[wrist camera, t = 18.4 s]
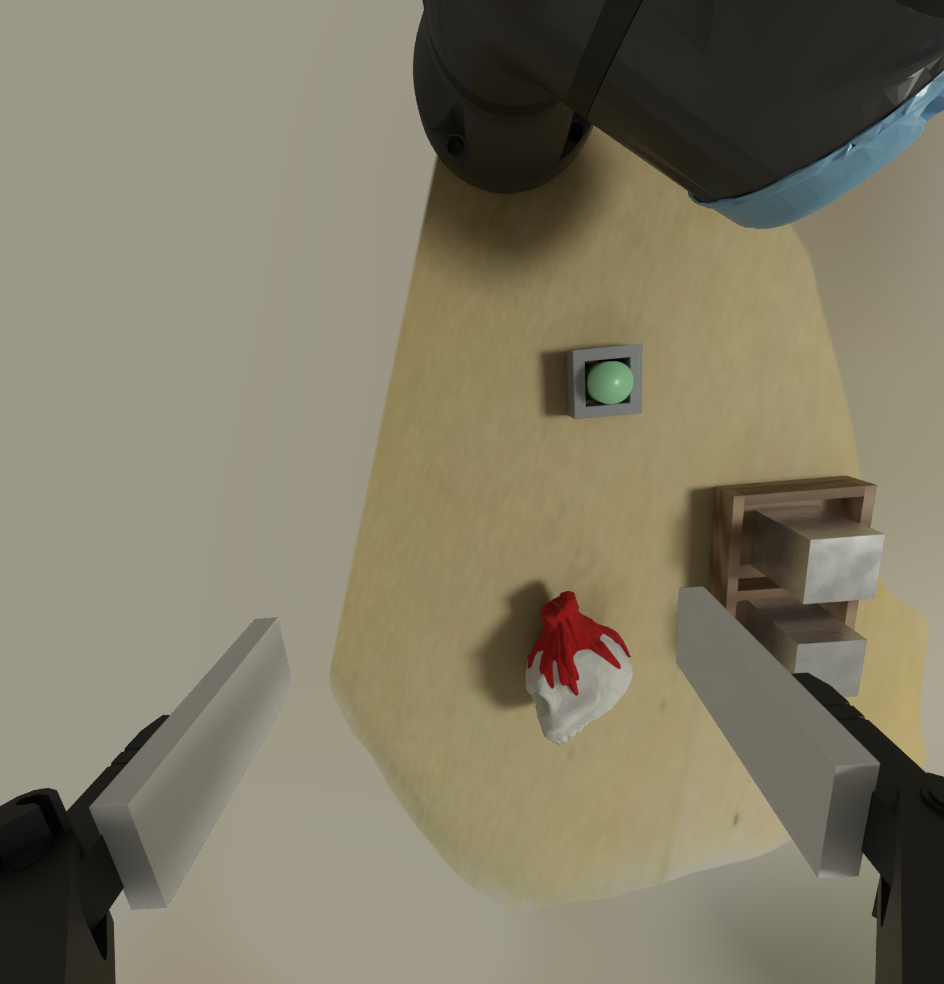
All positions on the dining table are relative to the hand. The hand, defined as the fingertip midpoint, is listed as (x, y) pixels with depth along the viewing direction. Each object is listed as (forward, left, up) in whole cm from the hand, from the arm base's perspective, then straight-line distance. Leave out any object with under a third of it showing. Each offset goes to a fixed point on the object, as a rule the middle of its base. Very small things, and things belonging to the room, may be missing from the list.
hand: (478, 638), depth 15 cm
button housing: (-6, +12, -32) cm, 34 cm away
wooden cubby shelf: (+16, +30, -32) cm, 46 cm away
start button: (-6, +12, -31) cm, 34 cm away
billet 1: (+11, +30, -31) cm, 44 cm away
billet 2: (+21, +30, -31) cm, 48 cm away
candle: (+22, +8, -32) cm, 40 cm away
